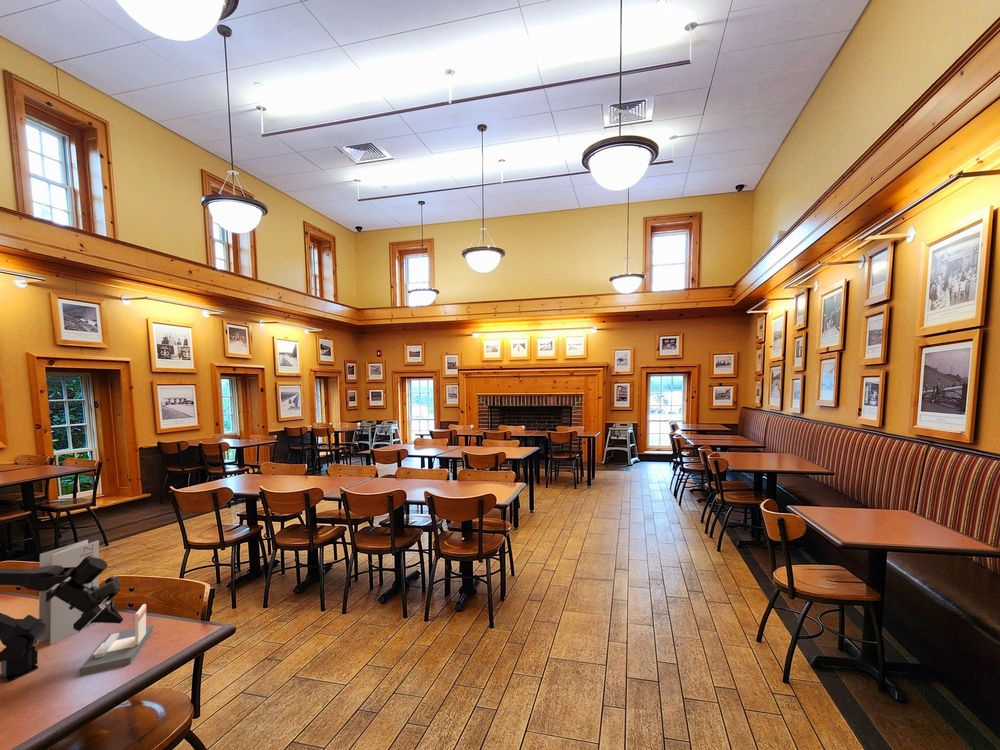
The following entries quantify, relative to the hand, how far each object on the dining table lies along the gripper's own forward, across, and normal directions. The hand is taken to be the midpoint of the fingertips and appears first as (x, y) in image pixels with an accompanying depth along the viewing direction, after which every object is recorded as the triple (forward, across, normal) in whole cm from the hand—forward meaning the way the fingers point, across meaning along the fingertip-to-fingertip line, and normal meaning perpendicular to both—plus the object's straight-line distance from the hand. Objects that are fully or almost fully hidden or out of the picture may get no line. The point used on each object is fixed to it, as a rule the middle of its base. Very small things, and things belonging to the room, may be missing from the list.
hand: (121, 621), depth 139 cm
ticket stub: (+9, 0, +2) cm, 9 cm away
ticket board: (+6, 0, +7) cm, 9 cm away
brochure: (-9, +23, +22) cm, 33 cm away
